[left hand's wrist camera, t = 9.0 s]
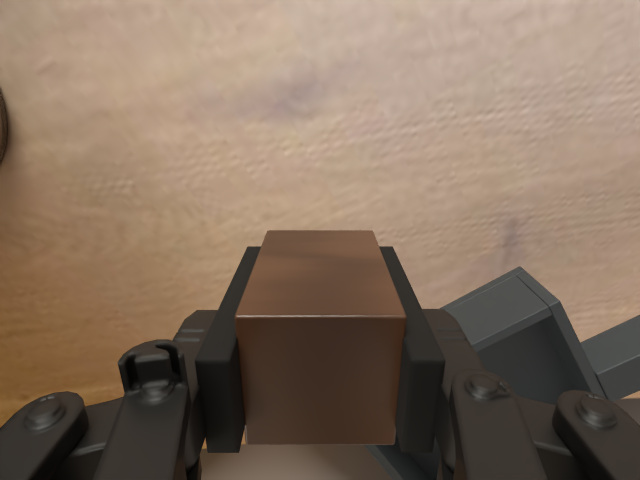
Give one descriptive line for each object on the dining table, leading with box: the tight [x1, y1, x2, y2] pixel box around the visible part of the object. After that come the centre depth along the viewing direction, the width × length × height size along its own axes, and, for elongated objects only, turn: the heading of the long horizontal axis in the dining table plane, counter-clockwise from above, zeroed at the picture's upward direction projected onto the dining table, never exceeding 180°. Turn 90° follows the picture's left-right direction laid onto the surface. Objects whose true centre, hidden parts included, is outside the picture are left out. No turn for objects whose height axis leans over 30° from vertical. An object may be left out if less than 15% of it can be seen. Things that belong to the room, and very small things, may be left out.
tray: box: [364, 267, 640, 480], centre depth 23 cm, size 26×13×4 cm, turn 123°
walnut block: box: [234, 231, 407, 445], centre depth 12 cm, size 4×4×6 cm
